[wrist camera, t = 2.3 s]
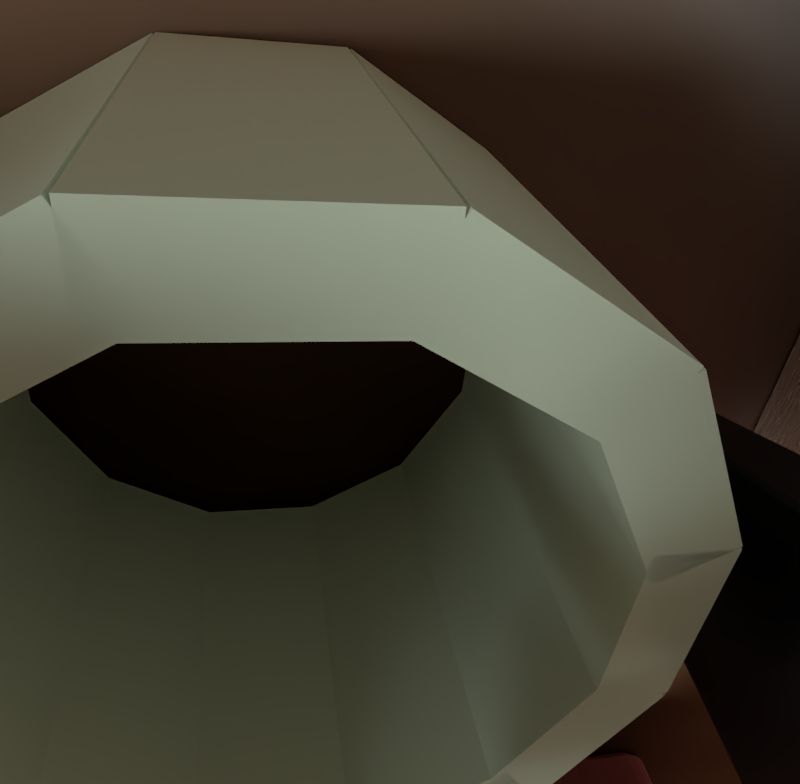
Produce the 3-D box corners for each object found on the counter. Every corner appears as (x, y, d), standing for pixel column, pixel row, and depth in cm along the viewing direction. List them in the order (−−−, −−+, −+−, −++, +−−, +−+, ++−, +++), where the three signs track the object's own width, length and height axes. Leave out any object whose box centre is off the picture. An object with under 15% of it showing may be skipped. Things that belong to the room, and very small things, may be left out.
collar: (12, 561, 11) (-122, 948, 7) (-154, 7, 7) (-756, 166, 3) (479, 529, 12) (594, 829, 8) (583, 66, 8) (912, 222, 4)
